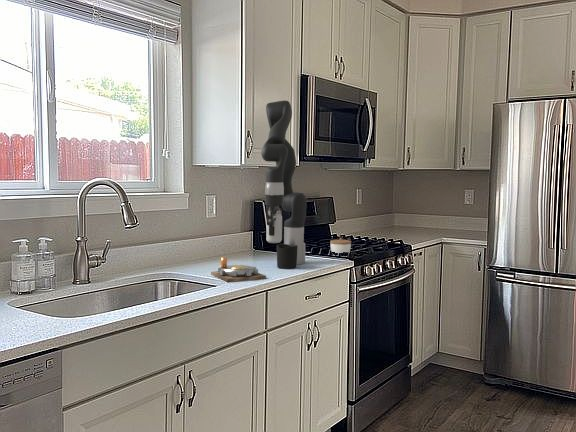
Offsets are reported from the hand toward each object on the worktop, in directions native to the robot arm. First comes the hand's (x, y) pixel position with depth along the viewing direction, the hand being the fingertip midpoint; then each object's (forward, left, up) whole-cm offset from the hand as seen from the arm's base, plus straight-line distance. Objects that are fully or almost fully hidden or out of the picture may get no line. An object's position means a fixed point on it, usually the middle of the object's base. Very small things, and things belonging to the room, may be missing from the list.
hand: (274, 234), depth 226 cm
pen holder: (-15, -16, -18) cm, 28 cm away
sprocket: (+14, -5, -16) cm, 22 cm away
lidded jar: (-56, -34, -18) cm, 68 cm away
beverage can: (0, 0, -3) cm, 3 cm away
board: (+14, -5, -17) cm, 23 cm away
